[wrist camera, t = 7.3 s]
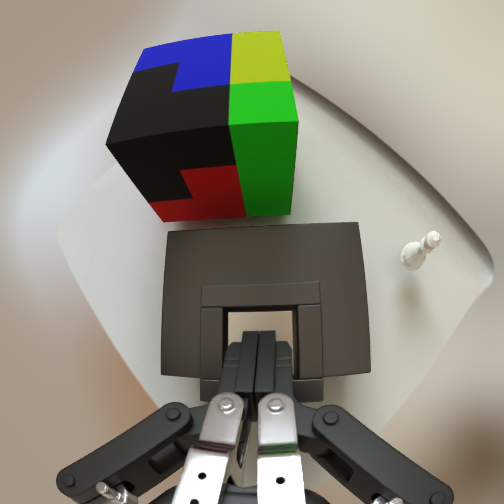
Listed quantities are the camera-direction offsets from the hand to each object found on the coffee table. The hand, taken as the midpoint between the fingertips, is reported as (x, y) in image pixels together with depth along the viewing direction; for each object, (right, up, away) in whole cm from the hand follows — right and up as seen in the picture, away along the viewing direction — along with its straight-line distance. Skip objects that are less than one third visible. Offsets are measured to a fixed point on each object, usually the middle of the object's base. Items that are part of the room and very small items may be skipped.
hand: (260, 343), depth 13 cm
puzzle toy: (-3, +12, +11) cm, 16 cm away
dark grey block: (+1, 0, +7) cm, 7 cm away
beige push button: (0, -1, +2) cm, 2 cm away
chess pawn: (+12, +4, +7) cm, 14 cm away
